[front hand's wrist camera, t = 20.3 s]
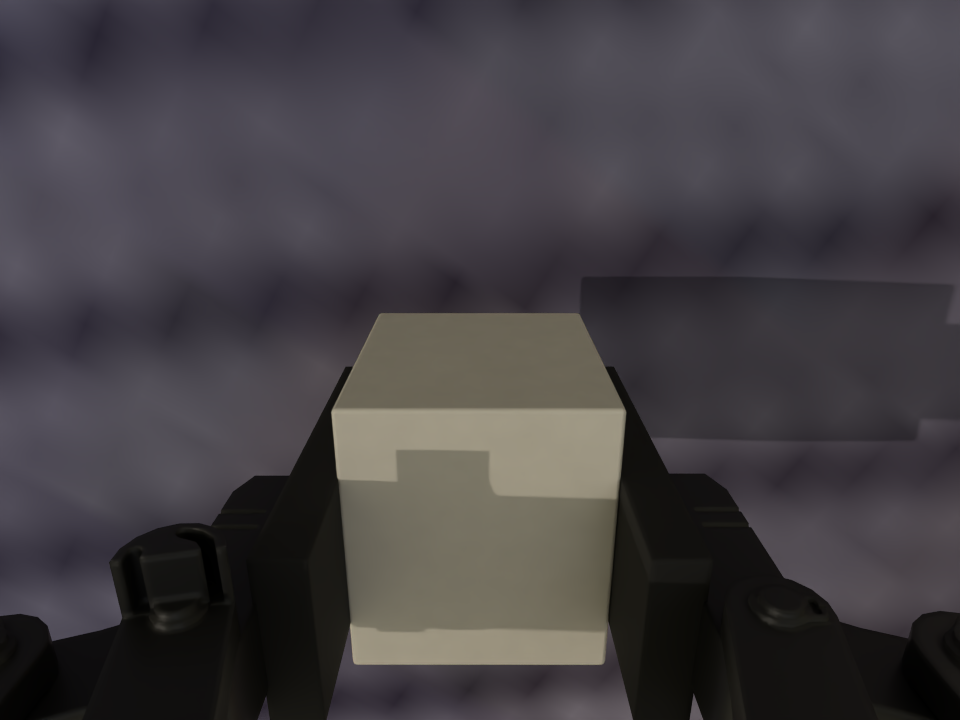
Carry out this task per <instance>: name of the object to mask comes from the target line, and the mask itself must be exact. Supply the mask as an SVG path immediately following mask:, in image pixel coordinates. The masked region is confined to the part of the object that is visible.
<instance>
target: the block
mask: <svg viewBox="0 0 960 720" xmlns="http://www.w3.org/2000/svg"><path fill="white" fill-rule="evenodd" d="M331 414H332V425H333V437H334V448H335V459H336V471H337V478H338V482H339V494H340V505H341V517H342V528H343V540H344V552H345V563H346V575H347V586H348V598H349V609H350V621H351V623H350V631H351V642H352V654H353V661H354V663H355V664H357V665H601V664H604V662H605V654H606V643H607V631H608V619H609V607H610V596H611V584H612V572H613V561H614V549H615V537H616V526H617V514H618V503H619V491H620V479H621V468H622V456H623V445H624V433H625V421H626V410H625V408H624V406H623V404H622V401H621V399H620V397H619V395H618V393H617V391H616V389H615V387H614V385H613V383H612V381H611V379H610V377H609V375H608V372H607V370H606V368H605V366H604V364H603V362H602V360H601V358H600V356H599V354H598V352H597V350H596V348H595V346H594V343H593V341H592V339H591V337H590V335H589V333H588V331H587V329H586V327H585V325H584V323H583V321H582V319H581V317H580V314H577V313H381V314H379V316H378V318H377V320H376V322H375V324H374V326H373V328H372V330H371V332H370V334H369V336H368V338H367V340H366V342H365V344H364V346H363V348H362V350H361V352H360V354H359V356H358V358H357V360H356V362H355V364H354V367H353V369H352V371H351V373H350V375H349V377H348V379H347V381H346V383H345V385H344V387H343V389H342V391H341V393H340V395H339V397H338V399H337V401H336V403H335V405H334V407H333V409H332V412H331Z"/></svg>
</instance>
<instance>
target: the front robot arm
mask: <svg viewBox="0 0 960 720" xmlns="http://www.w3.org/2000/svg"><path fill="white" fill-rule="evenodd" d="M605 368H606V370H607V372H608V375H609V377H610V379H611V381H612V383H613V385H614V387H615V389H616V391H617V393H618V395H619V397H620V399H621V401H622V404H623V406H624V408H625V410H626V421H625V433H624V445H623V456H622V468H621V479H620V491H619V503H618V514H617V526H616V537H615V549H614V561H613V572H612V584H611V596H610V607H609V619H608V621H609V625H610V629H611V633H612V637H613V641H614V645H615V649H616V653H617V657H618V661H619V665H620V669H621V673H622V677H623V681H624V685H625V689H626V693H627V697H628V701H629V705H630V709H631V713H632V717H633V720H690V713H691V706H692V700H693V693H694V695H695V698H696V701H697V703H698V706H699V709H700V712H701V714H702V717H703V720H960V613H953V612H944V611H937V612H932V613H927V614H922V615H921V616H920V617H919V618H918V619H917V620H916V621H914V622H913V624H912V627H911V631H910V634H909V637H908V638H903V637H899V636H894V635H890V634H885V633H881V632H876V631H872V630H867V629H863V628H859V627H855V626H852V625H849V624H845V623H842V622H839V619H838V617H837V615H836V614H835V612H834V611H833V609H832V608H831V606H830V605H829V603H828V602H827V601H825V600H824V599H823V598H822V597H820V596H819V595H818V594H817V593H815V592H814V591H813V590H811V589H809V588H807V587H805V586H803V585H801V584H799V583H797V582H795V581H793V580H789V579H785V578H784V577H783V576H782V574H781V573H780V571H779V570H778V568H777V567H776V565H775V564H774V562H773V560H772V559H771V557H770V556H769V554H768V553H767V551H766V550H765V548H764V547H763V545H762V543H761V542H760V540H759V539H758V537H757V536H756V534H755V533H754V531H753V530H752V528H751V527H749V525H748V524H749V523H748V522H747V520H746V519H745V517H744V516H743V514H742V512H739V508H738V506H737V505H736V503H735V502H734V500H733V499H732V497H731V495H730V494H729V492H728V491H727V489H725V488H724V487H722V486H721V485H720V484H718V483H717V482H715V481H714V480H713V479H711V478H710V477H709V476H707V475H706V474H669V473H668V471H667V469H666V467H665V465H664V463H663V461H662V459H661V458H660V456H659V454H658V452H657V450H656V448H655V446H654V444H653V442H652V440H651V438H650V436H649V434H648V432H647V430H646V428H645V426H644V425H643V423H642V421H641V419H640V417H639V415H638V413H637V411H636V409H635V407H634V405H633V403H632V401H631V399H630V397H629V395H628V394H627V392H626V390H625V388H624V386H623V384H622V382H621V380H620V378H619V376H618V374H617V372H616V370H615V368H614V367H605ZM352 369H353V367H345V369H344V371H343V373H342V375H341V377H340V379H339V381H338V383H337V385H336V387H335V389H334V391H333V393H332V395H331V396H330V398H329V400H328V402H327V404H326V406H325V408H324V410H323V412H322V414H321V416H320V418H319V420H318V422H317V424H316V426H315V428H314V429H313V431H312V433H311V435H310V437H309V439H308V441H307V443H306V445H305V447H304V449H303V451H302V453H301V455H300V457H299V459H298V460H297V462H296V464H295V466H294V468H293V470H292V472H291V474H290V476H254V477H253V478H251V479H250V480H249V481H247V482H246V483H244V484H243V485H242V486H240V487H239V488H238V489H236V490H235V491H233V493H232V494H231V496H230V497H229V499H228V500H227V502H226V504H225V505H224V507H223V508H222V510H221V514H219V515H218V516H217V518H216V519H215V521H214V522H213V524H212V525H211V526H208V525H204V524H200V523H186V524H175V525H171V526H166V527H161V528H157V529H155V530H152V531H150V532H148V533H145V534H143V535H141V536H138V537H136V538H135V539H133V540H132V541H130V542H129V543H128V544H126V545H125V546H123V547H122V548H120V549H119V550H118V552H117V553H116V554H115V556H114V557H113V558H112V559H111V561H110V562H109V564H110V568H111V572H112V576H113V581H114V585H115V589H116V593H117V597H118V601H119V605H120V610H121V614H122V620H121V623H120V625H117V626H114V627H110V628H107V629H104V630H100V631H96V632H91V633H87V634H83V635H78V636H74V637H69V638H65V639H60V640H56V641H52V640H51V636H50V633H49V629H48V626H47V625H46V624H45V623H44V622H43V621H41V620H40V619H39V618H38V617H34V616H29V615H23V614H16V615H7V616H0V720H257V719H258V716H259V714H260V711H261V708H262V705H263V703H264V700H265V697H266V696H267V703H268V709H269V716H270V720H326V719H327V715H328V711H329V707H330V703H331V699H332V695H333V691H334V687H335V683H336V679H337V675H338V671H339V667H340V663H341V659H342V655H343V651H344V647H345V643H346V639H347V635H348V631H349V627H350V623H351V621H350V609H349V598H348V586H347V575H346V563H345V552H344V540H343V528H342V517H341V505H340V494H339V482H338V478H337V471H336V459H335V448H334V437H333V425H332V414H331V412H332V409H333V407H334V405H335V403H336V401H337V399H338V397H339V395H340V393H341V391H342V389H343V387H344V385H345V383H346V381H347V379H348V377H349V375H350V373H351V371H352Z"/></svg>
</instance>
